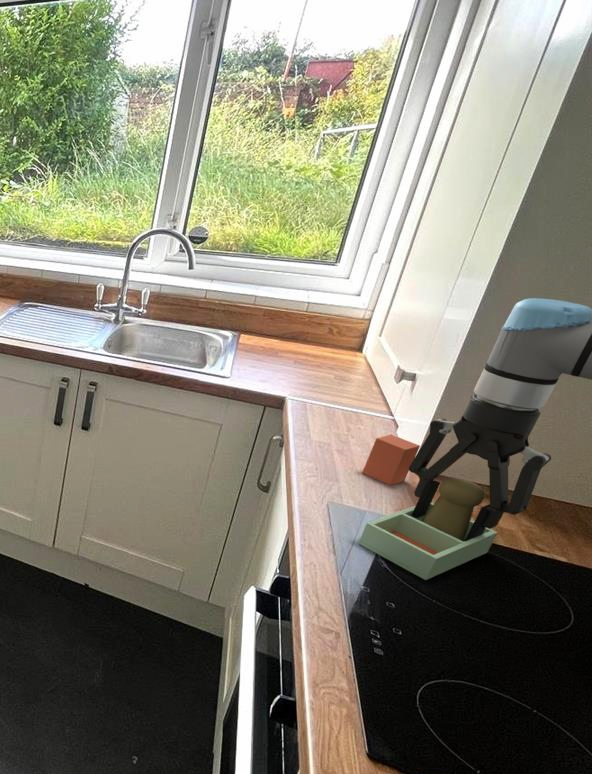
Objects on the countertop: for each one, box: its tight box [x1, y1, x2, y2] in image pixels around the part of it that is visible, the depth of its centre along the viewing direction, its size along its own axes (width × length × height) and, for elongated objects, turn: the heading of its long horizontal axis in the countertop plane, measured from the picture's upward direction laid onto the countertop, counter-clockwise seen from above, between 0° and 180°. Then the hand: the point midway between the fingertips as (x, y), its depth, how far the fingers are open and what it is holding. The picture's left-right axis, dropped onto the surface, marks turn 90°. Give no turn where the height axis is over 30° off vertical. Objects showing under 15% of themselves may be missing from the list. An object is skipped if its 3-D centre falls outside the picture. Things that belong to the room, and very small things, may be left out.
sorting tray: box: [357, 501, 499, 581], centre depth 95 cm, size 18×9×4 cm, turn 113°
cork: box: [421, 477, 486, 542], centre depth 95 cm, size 6×6×11 cm
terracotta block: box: [361, 434, 421, 486], centre depth 115 cm, size 5×5×8 cm
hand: (444, 527), depth 96 cm, fingers open, 7 cm apart
